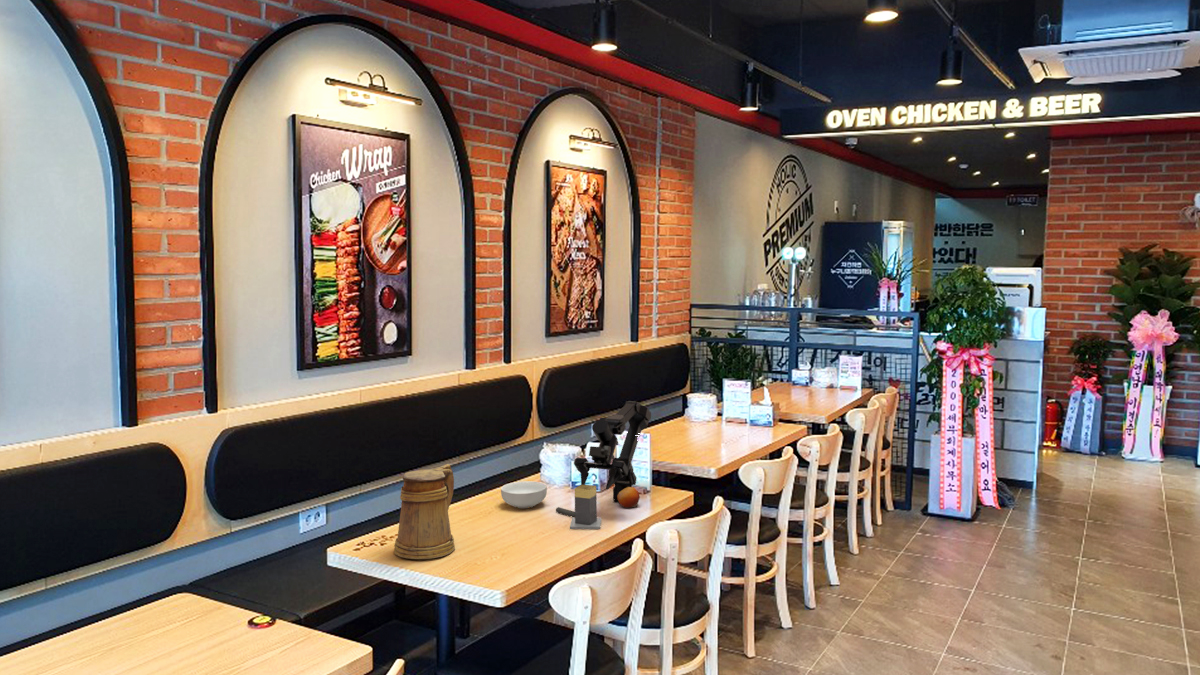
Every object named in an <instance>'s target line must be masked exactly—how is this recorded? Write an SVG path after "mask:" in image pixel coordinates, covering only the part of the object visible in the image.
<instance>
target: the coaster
mask: <svg viewBox="0 0 1200 675" xmlns="http://www.w3.org/2000/svg"><path fill="white" fill-rule="evenodd" d="M601 525H602V517H597V521H596V522H594V523H593V524H591V525H584V524H576V523H575V518H574V517H571V520H570V525H569V530H570V529H600V530H601V527H602V526H601ZM600 526H601V527H600Z"/></svg>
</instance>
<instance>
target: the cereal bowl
mask: <svg viewBox="0 0 1200 675" xmlns="http://www.w3.org/2000/svg"><path fill="white" fill-rule="evenodd" d="M547 488H548V487H547V484H545V483H544V482H540V481H534V480H532V481H531V480H530V481H529V480H526V481H524V480H523V481H514V482H510V483H505V484H504V485H502V486H501V487H500V494H501V498H502V500H503V502H504V503H506V504H507V505H510V506H512V507H514V508H516V507H518V508H517V509H529V508H528V507H531V508H533V506H534V507H535V506H536V505H538V504H540V503H542V502H543V501H544V500H545V498H546V496H547V493H548V489H547Z"/></svg>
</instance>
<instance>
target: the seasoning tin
mask: <svg viewBox="0 0 1200 675" xmlns="http://www.w3.org/2000/svg"><path fill="white" fill-rule="evenodd" d="M597 505H598V504H597V485H591V484H585V485H583V484H581V483H580V484H579V485H578V486H576V487H574V512H575V523H576V524H584V525H591V524H593V523H594V522H596V521H597V518H598V516H597V514H598V511H597V509H598V508H597V507H598V506H597Z"/></svg>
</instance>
